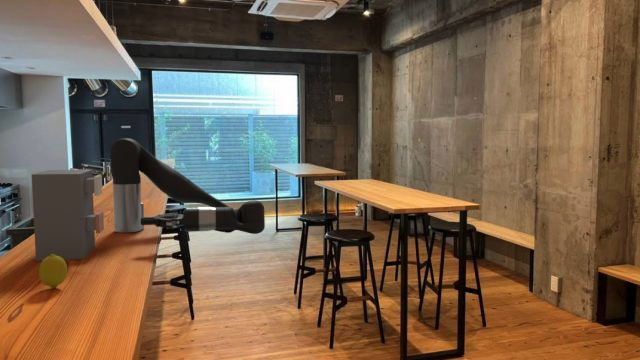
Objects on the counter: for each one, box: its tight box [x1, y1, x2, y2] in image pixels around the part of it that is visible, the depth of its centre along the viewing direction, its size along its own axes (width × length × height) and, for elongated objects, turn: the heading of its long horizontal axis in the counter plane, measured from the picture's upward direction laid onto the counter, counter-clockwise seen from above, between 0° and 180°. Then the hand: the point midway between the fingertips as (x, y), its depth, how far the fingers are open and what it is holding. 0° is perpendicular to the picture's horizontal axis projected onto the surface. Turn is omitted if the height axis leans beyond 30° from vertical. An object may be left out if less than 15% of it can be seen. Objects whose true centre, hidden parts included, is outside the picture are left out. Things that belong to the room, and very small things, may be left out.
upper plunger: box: [85, 174, 103, 197], centre depth 134 cm, size 9×6×6 cm, turn 104°
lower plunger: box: [86, 211, 105, 234], centre depth 136 cm, size 9×6×6 cm, turn 104°
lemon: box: [38, 254, 68, 289], centre depth 105 cm, size 6×6×8 cm
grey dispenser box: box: [31, 169, 96, 262], centre depth 134 cm, size 12×14×24 cm
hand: (141, 221), depth 139 cm, fingers closed
